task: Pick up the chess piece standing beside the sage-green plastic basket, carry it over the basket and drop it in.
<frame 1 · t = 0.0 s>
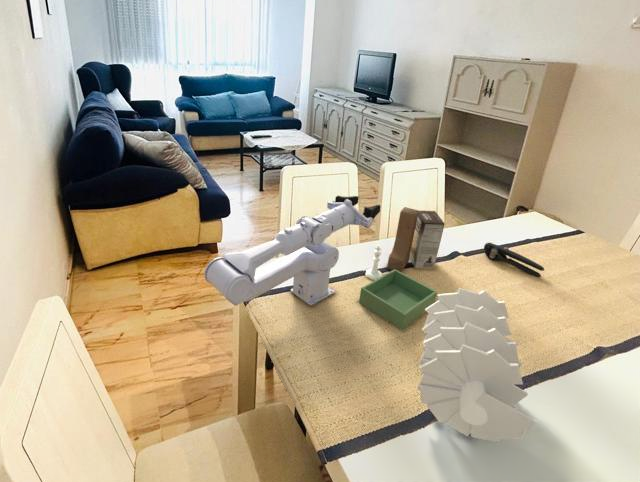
hand: (368, 203, 109), 22 cm above the table, tool horizontal, fingers open, 7 cm apart
basket: (396, 303, 102), on the table
coffee box: (420, 261, 123), on the table
spiral staircase: (458, 392, 77), on the table
can opener: (509, 266, 124), on the table
wooden block: (397, 265, 121), on the table
chess piece: (373, 275, 115), on the table
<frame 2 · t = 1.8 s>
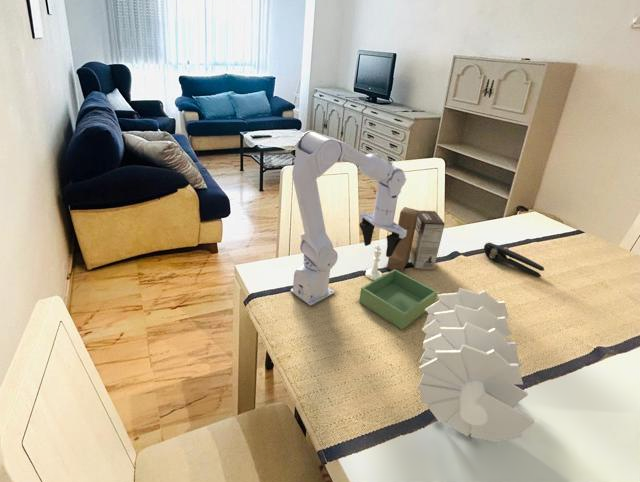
hand: (378, 250, 111), 9 cm above the table, tool pointing down, fingers open, 7 cm apart
nothing on the table moved.
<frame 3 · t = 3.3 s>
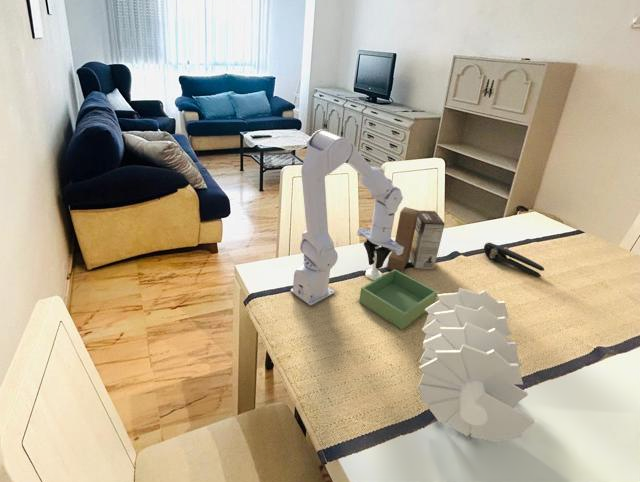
hand: (375, 265, 113), 3 cm above the table, tool pointing down, fingers closed on chess piece
chess piece: (373, 275, 115), on the table, touching gripper
everything else where it was.
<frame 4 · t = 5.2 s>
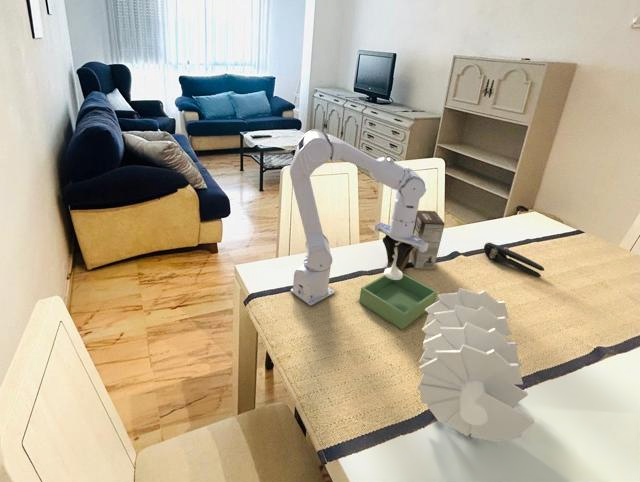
hand: (395, 264, 102), 10 cm above the table, tool pointing down, fingers closed on chess piece
chess piece: (393, 275, 104), point 6 cm above the table, touching gripper
everything else where it was.
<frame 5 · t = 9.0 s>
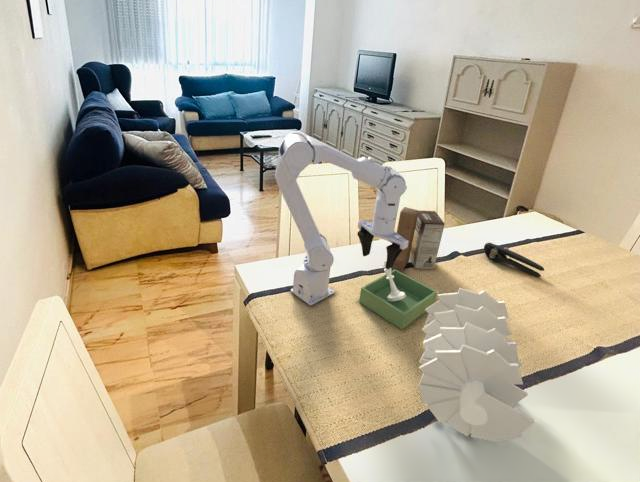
hand: (377, 261, 104), 10 cm above the table, tool pointing down, fingers open, 7 cm apart
chess piece: (396, 298, 102), point 2 cm above the table, touching basket
everything else where it was.
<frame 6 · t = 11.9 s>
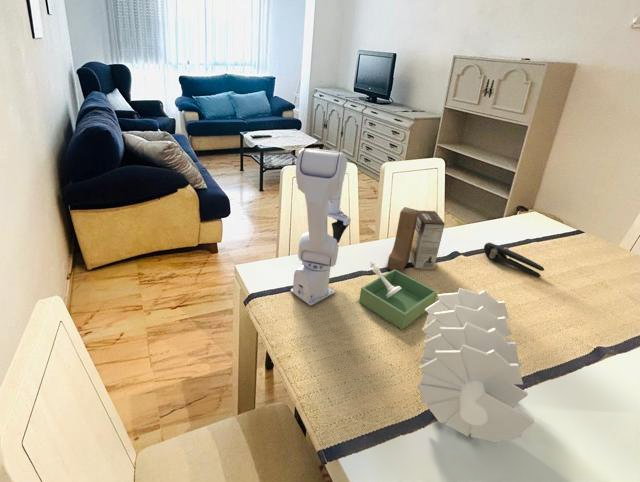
hand: (326, 237, 115), 9 cm above the table, tool pointing down, fingers open, 7 cm apart
chess piece: (394, 294, 102), point 2 cm above the table, touching basket
everything else where it was.
at the end: chess piece inside the target area in the basket (1.0 cm from its centre), point 2.5 cm above the basket's base; the gripper is holding nothing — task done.
